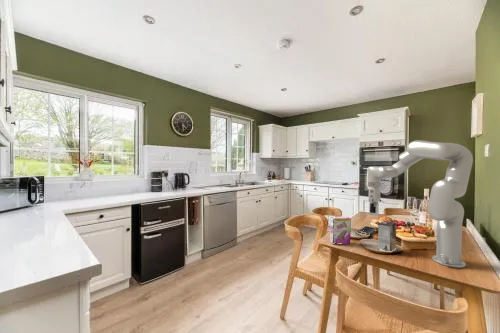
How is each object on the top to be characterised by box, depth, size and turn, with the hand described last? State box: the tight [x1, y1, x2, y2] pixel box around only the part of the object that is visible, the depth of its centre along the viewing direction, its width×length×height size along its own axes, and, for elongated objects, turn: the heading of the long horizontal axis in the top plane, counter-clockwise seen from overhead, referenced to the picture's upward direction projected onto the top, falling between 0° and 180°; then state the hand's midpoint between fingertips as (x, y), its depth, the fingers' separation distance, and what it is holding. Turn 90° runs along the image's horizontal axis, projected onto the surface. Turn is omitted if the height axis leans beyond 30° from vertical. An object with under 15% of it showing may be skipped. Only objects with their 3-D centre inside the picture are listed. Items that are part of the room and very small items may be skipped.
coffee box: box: [377, 220, 397, 251], centre depth 128 cm, size 9×6×16 cm
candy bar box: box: [329, 216, 352, 245], centre depth 140 cm, size 11×5×16 cm, turn 91°
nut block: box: [368, 202, 380, 216], centre depth 150 cm, size 4×4×8 cm
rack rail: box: [357, 226, 377, 235], centre depth 161 cm, size 20×8×2 cm, turn 135°
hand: (373, 211), depth 150 cm, fingers closed on nut block, 4 cm apart
